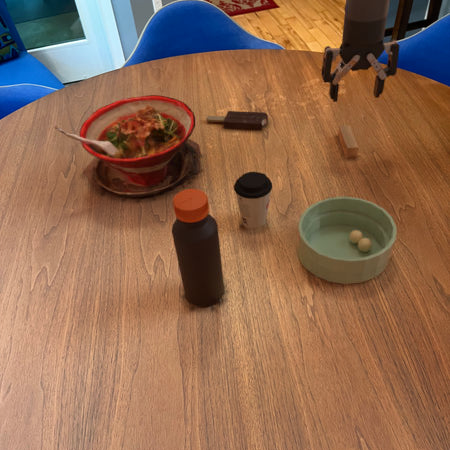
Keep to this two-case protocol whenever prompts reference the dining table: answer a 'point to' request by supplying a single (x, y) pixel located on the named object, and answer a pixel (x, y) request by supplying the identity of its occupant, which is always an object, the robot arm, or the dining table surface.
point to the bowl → (345, 239)
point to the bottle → (197, 248)
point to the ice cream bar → (242, 120)
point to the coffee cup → (253, 198)
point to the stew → (140, 145)
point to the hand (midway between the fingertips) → (355, 98)
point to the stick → (348, 141)
